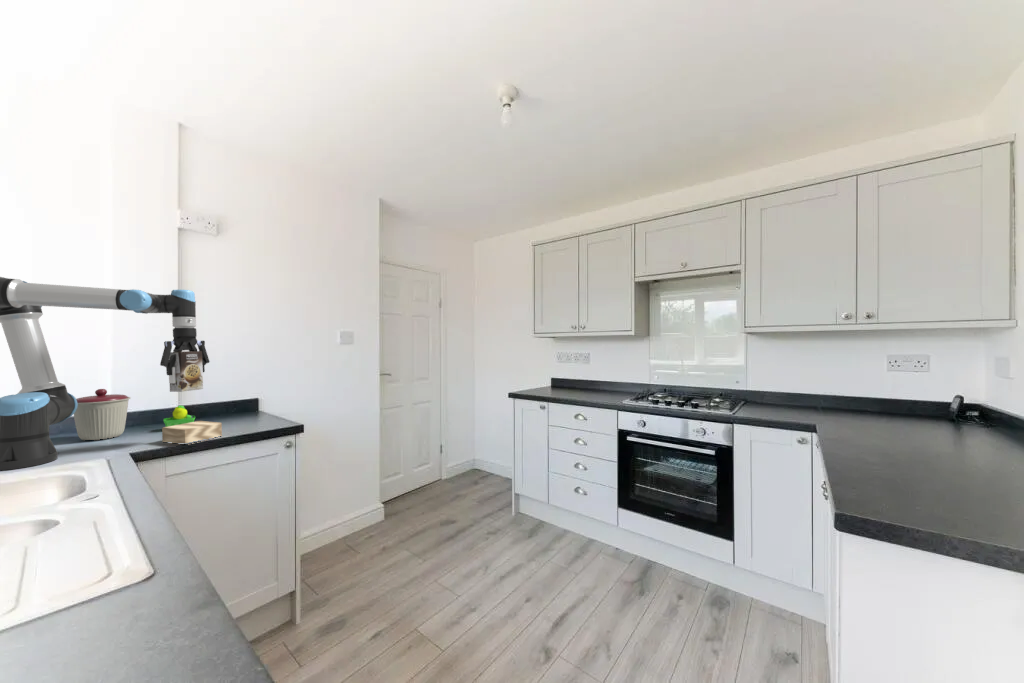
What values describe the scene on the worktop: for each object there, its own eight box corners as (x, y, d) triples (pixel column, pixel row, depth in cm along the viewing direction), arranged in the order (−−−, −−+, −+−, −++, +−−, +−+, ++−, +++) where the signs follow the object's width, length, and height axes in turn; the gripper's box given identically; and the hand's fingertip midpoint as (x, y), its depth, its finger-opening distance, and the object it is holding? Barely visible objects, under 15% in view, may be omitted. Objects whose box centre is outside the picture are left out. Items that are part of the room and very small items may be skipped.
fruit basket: (195, 425, 193) (194, 402, 193) (195, 428, 186) (195, 404, 186) (163, 429, 185) (163, 405, 185) (163, 432, 178) (162, 407, 178)
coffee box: (182, 392, 158) (180, 351, 158) (169, 392, 159) (167, 352, 159) (204, 389, 167) (202, 350, 167) (191, 388, 168) (190, 351, 168)
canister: (142, 433, 177) (141, 386, 177) (96, 443, 159) (95, 391, 159) (106, 432, 179) (105, 386, 179) (57, 443, 161) (56, 391, 161)
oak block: (185, 445, 155) (184, 429, 155) (162, 442, 160) (162, 427, 160) (221, 436, 169) (221, 422, 169) (199, 434, 173) (199, 420, 173)
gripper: (158, 326, 151) (160, 385, 151) (218, 327, 172) (220, 379, 172) (146, 327, 154) (148, 385, 154) (207, 328, 175) (209, 378, 175)
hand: (186, 381), depth 163 cm, fingers closed on coffee box, 9 cm apart
